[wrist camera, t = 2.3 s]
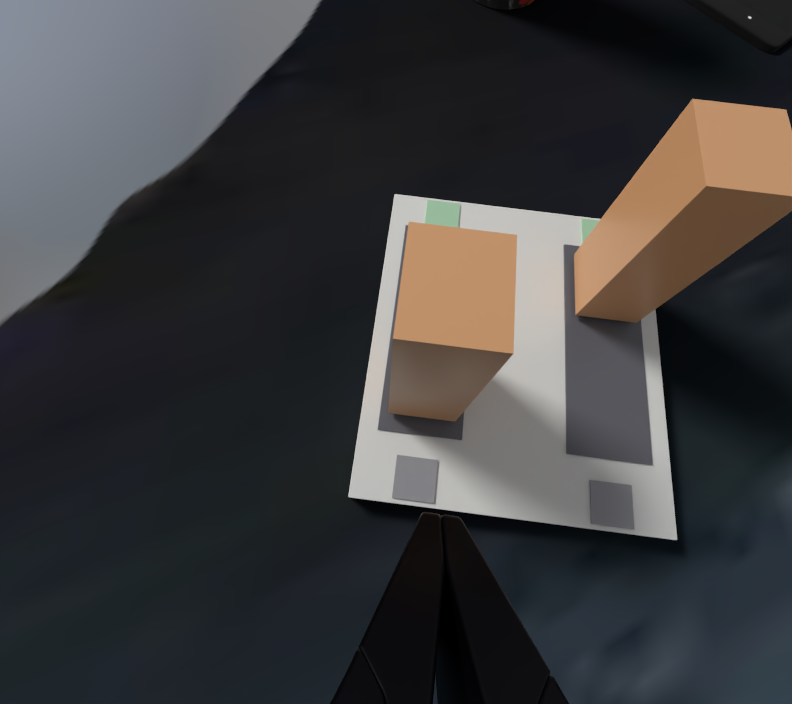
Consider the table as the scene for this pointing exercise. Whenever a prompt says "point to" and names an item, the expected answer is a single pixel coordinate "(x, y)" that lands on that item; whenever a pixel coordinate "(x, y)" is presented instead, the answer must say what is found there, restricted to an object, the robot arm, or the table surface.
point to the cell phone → (753, 20)
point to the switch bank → (527, 399)
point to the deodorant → (505, 4)
